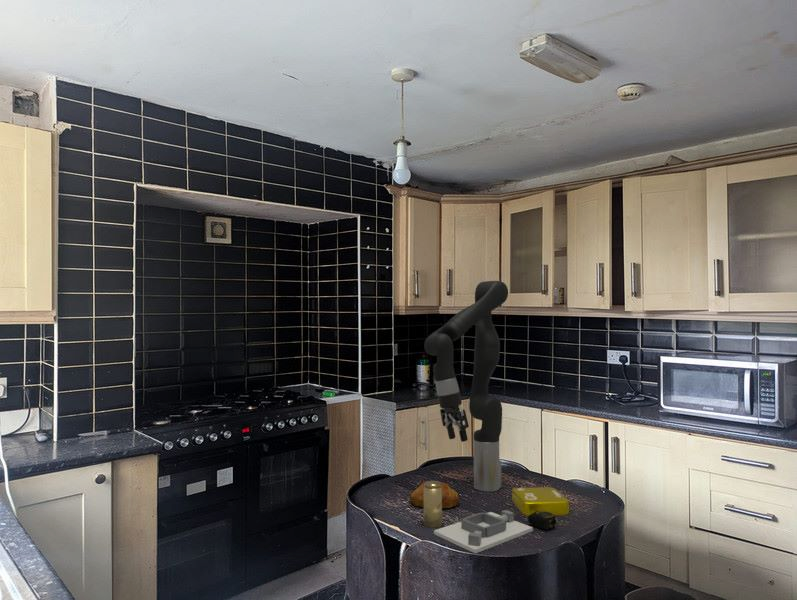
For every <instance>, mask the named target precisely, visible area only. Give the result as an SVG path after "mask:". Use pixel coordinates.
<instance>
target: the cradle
mask: <svg viewBox="0 0 797 600" xmlns="http://www.w3.org/2000/svg"><path fill="white" fill-rule="evenodd" d="M533 531H534V527H533V526H530V525H527V524H525V523H522V522H519V521H516V520H515V512H512V511H511V510H507V509H505V510H501V514H498V513H495V512H492V511H489V512H486V511H485V512H484V511H483V512H478V513H475V514H472V515H468V516H465V517H463V518H462V519H461V521H459V522H455V523H453V524H451V525H446V526H444V527H441V528H437V529H435V530H433V535H435V536H437V537H439V538H441V539H444V540H445V541H447V542H450V543H452V544H454V545H456V546H458V547H460V548H463V549H464V550H467V551H469V552H471V553H473V554H478V553H480V552H482V551H485V550H488V549H491V548H493V547H496V546H499V545H500V544H503V543H506V542H509V541H511V540H513V539H517V538H519V537H521V536H523V535H526V534H528V533H531V532H533Z"/></svg>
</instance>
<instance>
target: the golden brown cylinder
mask: <svg viewBox="0 0 797 600" xmlns="http://www.w3.org/2000/svg"><path fill="white" fill-rule="evenodd" d="M440 482H441V481H438V480H426V481H425V482H424V483H425V485H424V507H423V526H425V527H428V528H439V527H441V526H442V525H443V508H442V486H441V483H440Z"/></svg>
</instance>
